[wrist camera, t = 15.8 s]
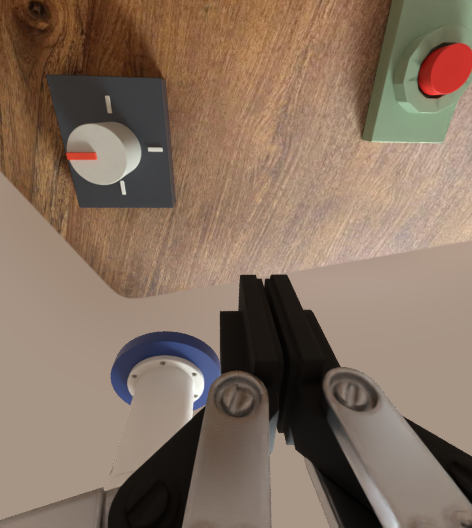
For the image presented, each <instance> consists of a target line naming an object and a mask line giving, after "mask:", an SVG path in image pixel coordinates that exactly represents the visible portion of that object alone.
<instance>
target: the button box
mask: <svg viewBox="0 0 472 528" xmlns="http://www.w3.org/2000/svg"><path fill="white" fill-rule="evenodd" d="M456 43H463V44H466V45H468V46H469V47H470V49H471V50H472V0H392V3H391V7H390V12H389V17H388V21H387V26H386V30H385V35H384V40H383V44H382V49H381V53H380V58H379V62H378V67H377V72H376V76H375V81H374V85H373V90H372V94H371V99H370V104H369V108H368V113H367V117H366V122H365V127H364V131H363V136H362V140H364V141H369V142H406V143H443V142H444V139H445V136H446V133H447V130H448V127H449V124H450V122H451V119H452V116H453V113H454V110H455V107H456V104H457V102H458V99H459V98H460V97H461V95H462V94H463V93H464V92H465V91H466V89H467V88H468V87H469V86H470V84H471V82H472V71H471V73H470V75H469V77H468V79H467V80H466V81H465V83H464V84H463V85H462V86H461V87H460V88H459V89H457V90H456V91H454V92H452V93H449V94H442V95H427V94H425V93H423V92H422V91H421V89H420V87H419V84H418V74H419V70H420V67H421V65H422V63H423V62H424V60H425V59H426V58H427V56H428V55H429V54H430V53H432V52H433V51H435V50H436V49H438V48H441V47H445V46H448V45H452V44H456Z"/></svg>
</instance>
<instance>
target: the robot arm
mask: <svg viewBox="0 0 472 528" xmlns="http://www.w3.org/2000/svg"><path fill="white" fill-rule="evenodd" d="M239 287H240V288H239V310H238V311H220V369H221V376H219V377H218V378H216V379H215V381H214V382H213V383H212V384H211V387H210V389H209V392H208V396H207V402H206V406H205V407H204V408H203V409H202V410H200V411H199V412H198V413H197V414H196V415H195V416H194V417H193V418H192V413H193V402H195V401H196V400H197V399H198V398H199V397H200V396H201V394H202V392H203V389H204V377H203V374H202V372H201V371H200V369H199V368H198V367H197V366H196V365H195V364H193V363H192V362H190V361H188V360H186V359H183V358H180V357H176V356H169V355H161V356H154V357H150V358H147V359H145V360H142V361H140V362H139V363H138V364H136V365H135V366H134V367H133V369H132V370H131V372H130V374H129V377H128V380H127V386H128V390H129V392H130V394H131V395H132V396H133V398H132V402H131V405H130V409H129V412H128V415H127V419H126V422H125V426H124V429H123V432H122V436H121V439H120V443H119V446H118V449H117V453H116V456H115V460H114V463H113V466H112V470H111V473H110V477H109V481H108V484H107V487H106V490H105V491H104V489H103V488H99V489H96V490H93V491H90V492H86V493H83V494H80V495H77V496H74V497H71V498H68V499H64V500H61V501H58V502H55V503H52V504H49V505H46V506H43V507H40V508H36V509H33V510H30V511H27V512H24V513H21V514H18V515H14V516H11V517H8V518H5V519H2V520H0V528H271V486H270V454H271V452H272V451H273V445H274V438H275V431H276V426H277V430H278V432H279V433H284V435H285V440H286V444H287V445H295V449H296V450H297V451H298V452H299V453H301V454H302V455H303V456H304V457H305V458H304V459H305V463H306V468H307V470H308V473H309V475H310V478H311V480H312V483H313V485H314V488H315V490H316V493H317V495H318V498H319V501H320V503H321V506H322V508H323V510H324V513H325V516H326V518H327V521H328V523H329V526H330V528H472V456H470V455H468V454H467V453H465V452H463V451H462V450H460V449H458V448H456V447H455V446H453V445H451V444H449V443H448V442H446V441H444V440H443V439H441V438H439V437H438V436H436V435H434V434H432V433H431V432H429V431H427V430H425V429H424V428H422V427H421V426H419V425H417V424H415V423H413V422H412V421H410V420H409V419H407V418H405V417H403V416H402V415H401V414H400V413H399V411H398V410H397V409H396V407H395V406H394V405H393V403H391V401H390V400H389V398H388V397H387V396H386V395H385V393H384V392H383V391H382V389H381V388H380V387H379V386H378V385H377V384H376V383H375V382H374V380H372V378H370V377H369V376H367V375H366V374H364V373H362V372H360V371H358V370H355V369H352V368H347V367H340V365H339V363H338V361H337V359H336V357H335V355H334V353H333V351H332V349H331V347H330V345H329V343H328V341H327V339H326V337H325V335H324V333H323V331H322V329H321V327H320V325H319V323H318V321H317V319H316V317H315V315H314V313H313V312H312V311H311V310H303V308H302V307H301V304H300V302H299V300H298V298H297V295H296V293H295V291H294V289H293V287H292V285H291V282H290V280H289V278H288V276H287V275H271V276H270V279H265V285H263V282H262V279H257V278H256V275H240V285H239Z"/></svg>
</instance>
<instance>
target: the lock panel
mask: <svg viewBox="0 0 472 528" xmlns="http://www.w3.org/2000/svg"><path fill="white" fill-rule="evenodd" d="M46 78H47V82H48V86H49V90H50V93H51V97H52V101H53V105H54V109H55V113H56V117H57V121H58V125H59V128H60V132H61V136H62V140H63V144H64V148H65V152H66V153H67V142H68V138H69V136H70V134H71V133H72V131H73V130H74V129H76V128H77V127H79V126H81V125H83V124H90V123H101V122H117V123H120V124H123V125H125V126H126V127H128V128H129V129H130V130H131V131H132V132H133V133H134V134H135V136H136V137H137V139H138V141H139V143H140V147H141V159H140V162H139V164H138V166H137V167H136V168H135V169H134V170H133V171H131V172H130V173H128V174H127V175H126V176H124V177H123V178H121V179H120V180H118V181H117V182H115V183H113V184H109V185H99V184H95V183H92V182H89V181H88V180H86V179H84V178H83V177H82V176H80V175H79V174H78V173H77V172H76V170H75V169H74V168H73V166H72V165H71V163H70V160H68V159H67V160H68V164H69V167H70V171H71V175H72V179H73V183H74V187H75V191H76V195H77V199H78V202H79V206H80V208H173V206H174V204H175V202H176V198H175V187H174V175H173V163H172V151H171V140H170V128H169V116H168V104H167V93H166V81H165V80H163V79H161V78H146V77H114V76H82V75H50V74H46Z"/></svg>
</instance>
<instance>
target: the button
mask: <svg viewBox="0 0 472 528" xmlns="http://www.w3.org/2000/svg"><path fill="white" fill-rule="evenodd" d="M471 71H472V50H471V49H470V47H469V46H468V45H466V44H463V43H456V44H452V45H448V46H445V47H441V48H438V49H436V50H435V51H433V52H432V53H430V54H429V55H428V56H427V58H426V59H425V60H424V62H423V63H422V65H421V67H420V70H419V74H418V84H419V87H420V89H421V91H422V92H423V93H425V94H427V95H442V94H449V93H452V92H454V91H456V90H457V89H459V88H460V87H461V86H462V85H463V84H464V83H465V81H466V80H467V79H468V77H469V75H470V73H471Z"/></svg>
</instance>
